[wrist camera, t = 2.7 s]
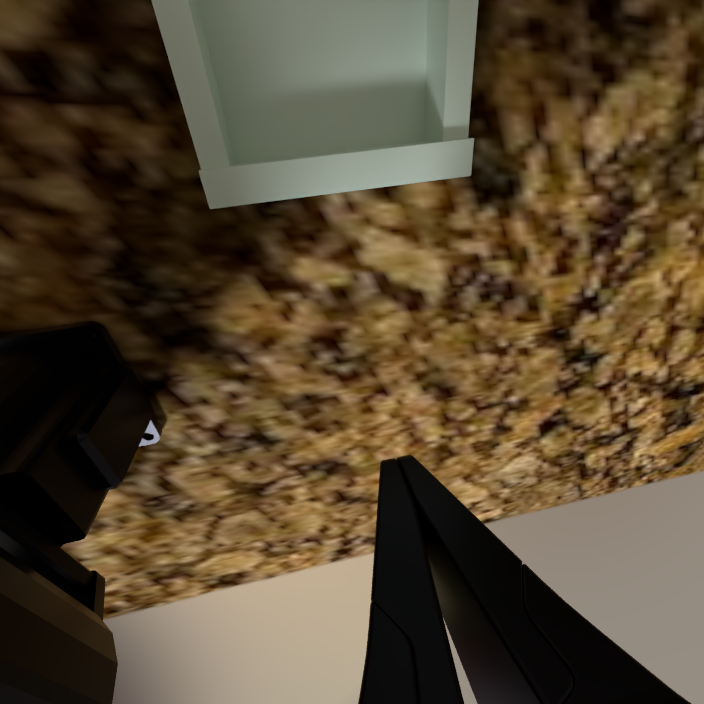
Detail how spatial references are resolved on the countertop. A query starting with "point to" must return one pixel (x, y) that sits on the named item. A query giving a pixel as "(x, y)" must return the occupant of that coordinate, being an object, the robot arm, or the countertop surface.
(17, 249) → the countertop surface
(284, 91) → the tray shell
